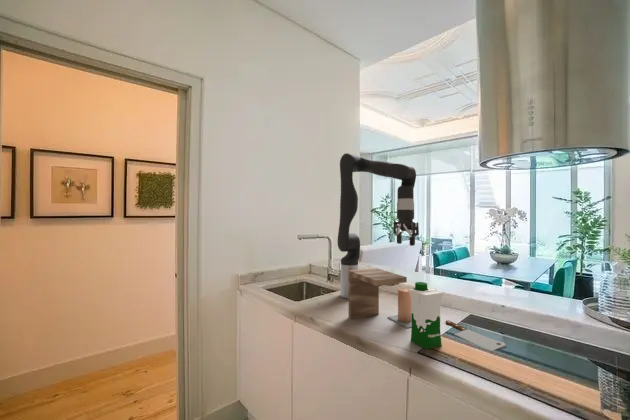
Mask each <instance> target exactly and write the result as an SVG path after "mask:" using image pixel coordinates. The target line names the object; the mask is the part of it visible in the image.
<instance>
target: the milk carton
mask: <svg viewBox="0 0 630 420" xmlns="http://www.w3.org/2000/svg"><path fill="white" fill-rule="evenodd" d="M408 290H409V291H410V296H411V302H412V327H411V330H410V331H411V332H410V334H411V335H410V342H411V343H414V344H415V345H417V346H419V347H420V348H422V349H424V350H430V349H434V348H438V347H442V337H441V336H442V335H441V303H442V298H443V294H444V293H443V292H442V291H438V290H437V289H434V288H429V287H428V283H426V282H422V281H418V282H417V281H416V282H414V288H409V289H408Z"/></svg>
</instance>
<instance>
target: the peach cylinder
mask: <svg viewBox="0 0 630 420" xmlns="http://www.w3.org/2000/svg"><path fill="white" fill-rule="evenodd" d="M397 315H398V320H399V321H401V322H411V321H412V302H411V296H410V291H409V289H408V288H399V289H397Z"/></svg>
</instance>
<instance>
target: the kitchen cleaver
mask: <svg viewBox="0 0 630 420" xmlns="http://www.w3.org/2000/svg"><path fill="white" fill-rule="evenodd" d="M445 325H448V326H451V327H452V328H454V329H457V330H459V331H458V332H456V333H454V334H453V335H454V336H456V337H459V338H461V339H463V340H466V341H468V342H469V343H472V344H475V345H476V346H479V347H482V348H484V349H487V350H489V351H497V350H500V349H503V348H506V347H507V345H506V343H505V342H504V341H501V340H496V339H493V338H490V337H488V336H485V335H482V334H480V333H478V332H475V331H474V330H473V331H472V329H471V330H470V329H469V328H466V327H464V326H462V325H459V324H457V323H456V322H453V321H450V320H446V321H445Z"/></svg>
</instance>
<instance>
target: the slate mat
mask: <svg viewBox="0 0 630 420" xmlns="http://www.w3.org/2000/svg"><path fill="white" fill-rule="evenodd" d="M387 319H389V320H391V321H392V322H394V323H397V324H398V325H400V326H402V327H404V328H406V329H410V328H411V329H412V321H411V322H401V321H399V320H398V314H396V315H391V316H387Z"/></svg>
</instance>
